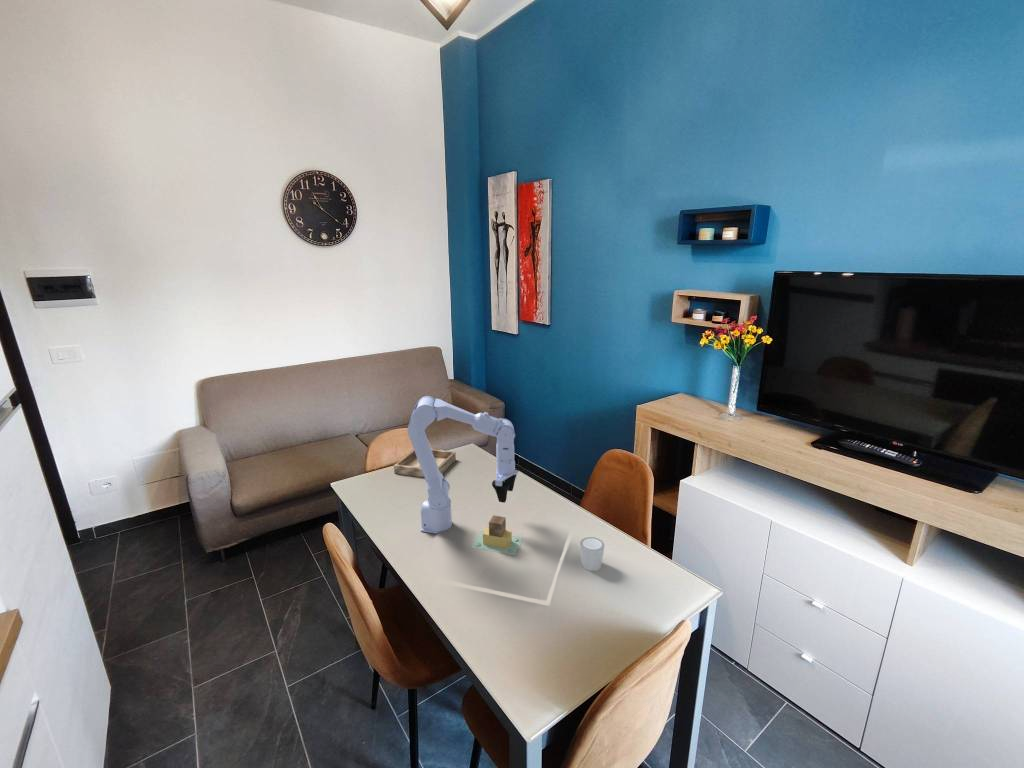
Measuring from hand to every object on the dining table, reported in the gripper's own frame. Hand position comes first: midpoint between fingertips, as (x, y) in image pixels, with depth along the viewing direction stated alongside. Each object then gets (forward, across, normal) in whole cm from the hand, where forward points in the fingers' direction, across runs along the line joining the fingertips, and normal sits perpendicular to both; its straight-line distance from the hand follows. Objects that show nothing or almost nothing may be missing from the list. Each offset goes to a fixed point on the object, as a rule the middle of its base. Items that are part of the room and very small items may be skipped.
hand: (505, 495), depth 154 cm
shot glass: (+11, -13, -30) cm, 34 cm away
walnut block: (+6, -12, -1) cm, 13 cm away
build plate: (+10, -12, -1) cm, 16 cm away
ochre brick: (+9, -12, -1) cm, 15 cm away
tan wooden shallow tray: (+10, +32, +46) cm, 57 cm away
